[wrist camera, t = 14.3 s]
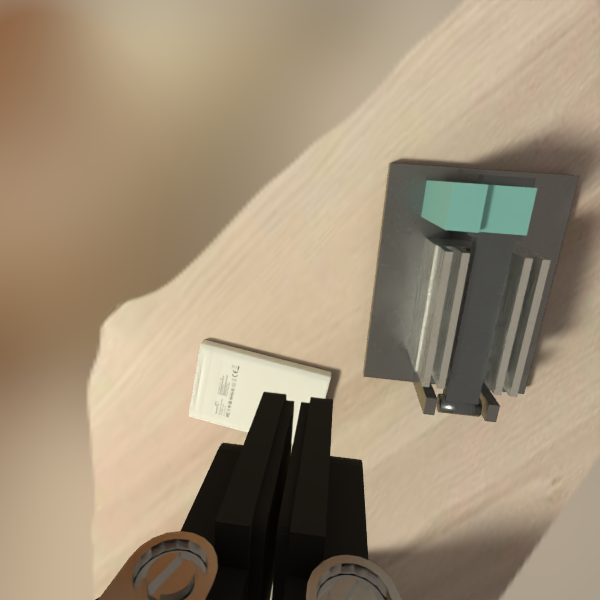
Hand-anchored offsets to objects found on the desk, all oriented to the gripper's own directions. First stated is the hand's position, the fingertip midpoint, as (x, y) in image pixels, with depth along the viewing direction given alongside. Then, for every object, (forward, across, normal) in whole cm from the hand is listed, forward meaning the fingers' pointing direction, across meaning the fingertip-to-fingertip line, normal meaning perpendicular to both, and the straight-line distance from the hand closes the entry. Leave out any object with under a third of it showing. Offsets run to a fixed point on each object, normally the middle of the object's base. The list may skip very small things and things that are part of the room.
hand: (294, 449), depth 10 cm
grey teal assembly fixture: (+27, -11, +2) cm, 29 cm away
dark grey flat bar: (+22, -11, +2) cm, 24 cm away
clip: (+26, -9, -5) cm, 28 cm away
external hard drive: (+28, +6, +14) cm, 32 cm away
